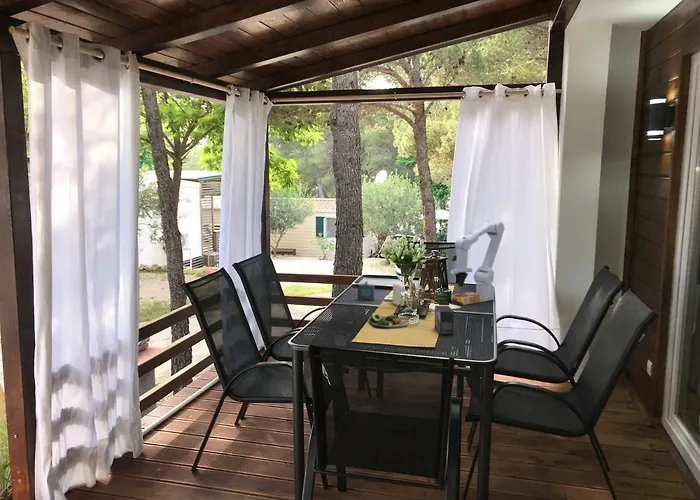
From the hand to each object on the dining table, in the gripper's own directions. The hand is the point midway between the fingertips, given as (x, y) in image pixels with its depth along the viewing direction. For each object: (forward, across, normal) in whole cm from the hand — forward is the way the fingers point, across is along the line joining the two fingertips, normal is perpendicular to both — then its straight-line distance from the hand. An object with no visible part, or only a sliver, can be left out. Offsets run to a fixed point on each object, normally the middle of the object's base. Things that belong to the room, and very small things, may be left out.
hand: (460, 286), depth 290 cm
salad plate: (+10, +58, +10) cm, 60 cm away
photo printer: (+10, +30, -14) cm, 35 cm away
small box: (+10, +44, +33) cm, 56 cm away
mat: (+10, +14, 0) cm, 17 cm away
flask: (+10, +39, -32) cm, 52 cm away
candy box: (+8, +2, 0) cm, 8 cm away
